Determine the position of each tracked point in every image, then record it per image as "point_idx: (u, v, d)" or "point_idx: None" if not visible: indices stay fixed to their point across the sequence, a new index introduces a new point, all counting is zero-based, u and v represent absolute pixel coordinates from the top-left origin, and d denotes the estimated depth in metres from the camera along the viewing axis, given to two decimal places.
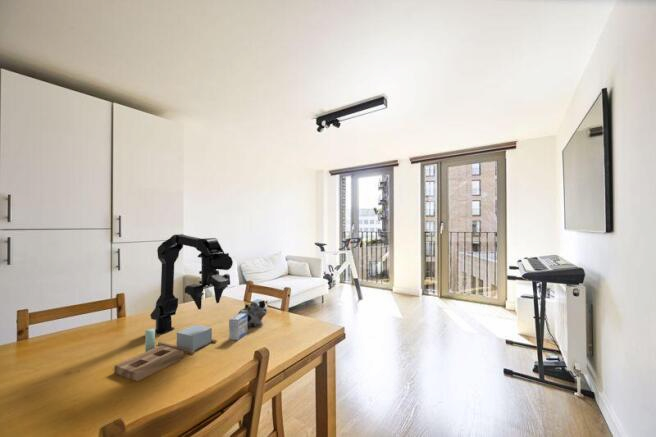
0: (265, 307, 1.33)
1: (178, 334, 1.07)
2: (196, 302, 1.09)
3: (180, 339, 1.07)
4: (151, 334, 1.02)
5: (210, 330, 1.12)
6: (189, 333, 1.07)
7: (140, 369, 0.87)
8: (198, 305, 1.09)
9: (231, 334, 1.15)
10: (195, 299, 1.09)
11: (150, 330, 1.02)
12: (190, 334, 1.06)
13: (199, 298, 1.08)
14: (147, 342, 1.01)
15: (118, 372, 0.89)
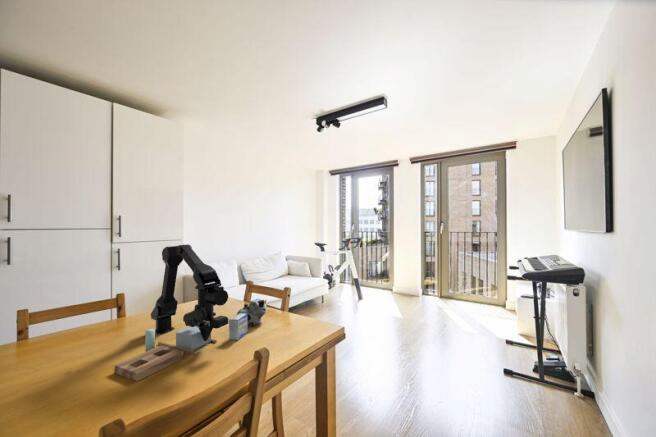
0: (264, 306, 1.34)
1: (177, 334, 1.07)
2: None
3: (179, 339, 1.07)
4: (151, 334, 1.02)
5: None
6: (188, 333, 1.07)
7: (140, 369, 0.87)
8: None
9: (231, 334, 1.15)
10: None
11: (150, 330, 1.02)
12: (189, 334, 1.06)
13: (200, 329, 1.07)
14: (147, 342, 1.01)
15: (118, 372, 0.89)
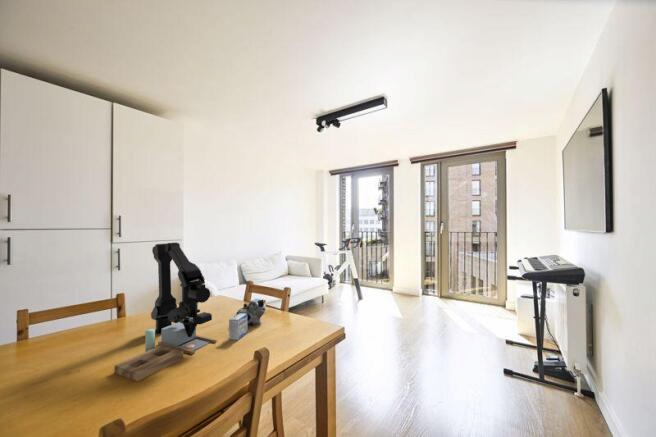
0: (264, 306, 1.34)
1: (163, 330, 1.11)
2: None
3: (164, 335, 1.10)
4: (151, 334, 1.02)
5: None
6: (173, 329, 1.10)
7: (140, 369, 0.87)
8: None
9: (231, 334, 1.15)
10: None
11: (150, 330, 1.02)
12: (174, 330, 1.09)
13: (184, 325, 1.10)
14: (147, 342, 1.01)
15: (118, 372, 0.89)
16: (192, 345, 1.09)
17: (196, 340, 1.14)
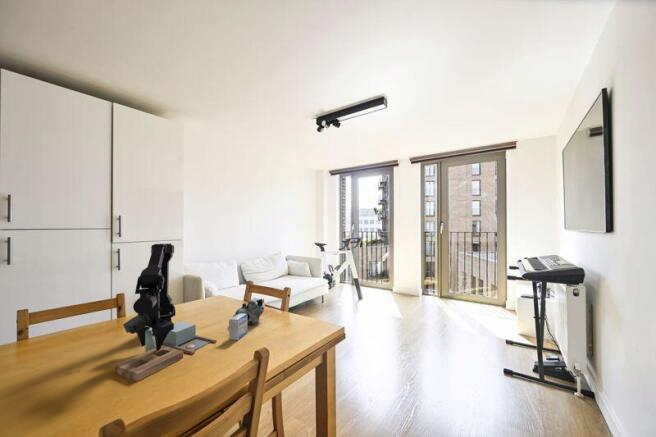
0: (263, 305, 1.35)
1: None
2: None
3: None
4: None
5: (194, 326, 1.15)
6: (173, 329, 1.10)
7: (140, 369, 0.87)
8: None
9: (231, 334, 1.15)
10: None
11: (150, 330, 1.02)
12: (174, 330, 1.10)
13: (137, 334, 1.04)
14: (147, 342, 1.01)
15: (118, 372, 0.89)
16: (192, 345, 1.09)
17: (196, 340, 1.14)
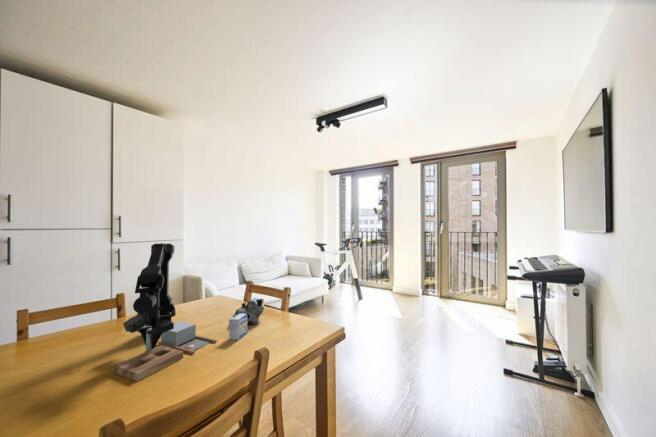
0: (262, 305, 1.36)
1: None
2: None
3: (164, 335, 1.11)
4: None
5: (194, 326, 1.15)
6: (173, 329, 1.10)
7: (140, 369, 0.87)
8: None
9: (231, 334, 1.15)
10: None
11: None
12: (174, 330, 1.10)
13: (141, 334, 1.03)
14: (148, 341, 1.01)
15: (118, 372, 0.89)
16: (192, 345, 1.09)
17: (196, 340, 1.14)
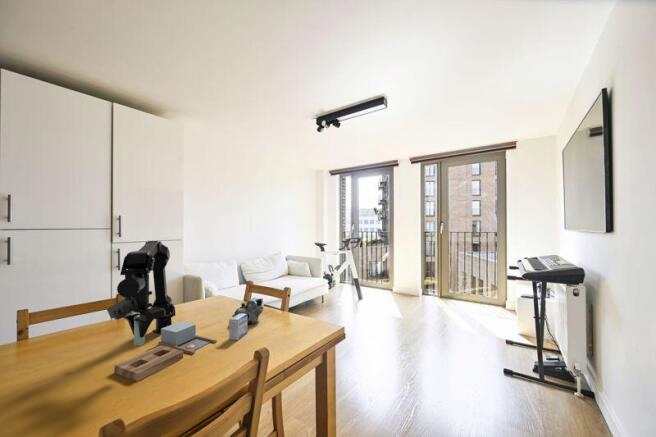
0: (262, 305, 1.36)
1: (162, 330, 1.11)
2: None
3: (164, 335, 1.11)
4: None
5: (194, 326, 1.15)
6: (173, 329, 1.10)
7: (140, 369, 0.87)
8: None
9: (231, 334, 1.15)
10: None
11: None
12: (174, 330, 1.10)
13: (129, 322, 0.91)
14: (136, 329, 0.90)
15: (118, 372, 0.89)
16: (192, 345, 1.09)
17: (196, 340, 1.14)
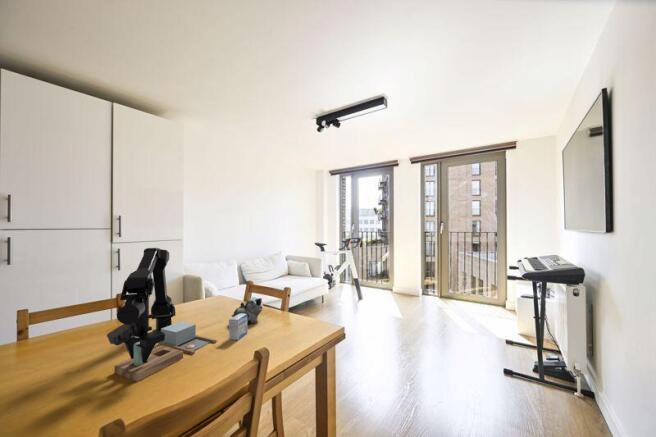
0: (261, 305, 1.37)
1: (162, 330, 1.11)
2: None
3: None
4: (140, 348, 0.91)
5: (194, 326, 1.15)
6: (173, 329, 1.10)
7: (140, 369, 0.87)
8: None
9: (231, 334, 1.15)
10: None
11: (139, 343, 0.91)
12: (174, 330, 1.10)
13: (126, 345, 0.92)
14: (135, 357, 0.90)
15: (118, 372, 0.89)
16: (192, 345, 1.09)
17: (196, 340, 1.14)
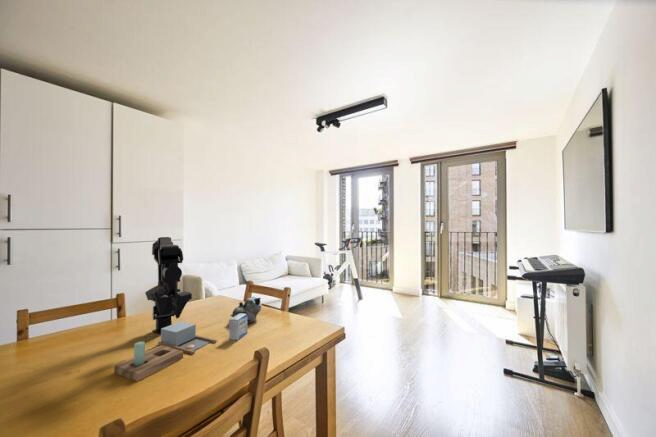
0: (260, 304, 1.38)
1: (162, 330, 1.11)
2: None
3: (164, 335, 1.11)
4: (141, 348, 0.91)
5: (194, 326, 1.15)
6: (173, 329, 1.10)
7: (140, 369, 0.87)
8: None
9: (231, 334, 1.15)
10: None
11: (140, 343, 0.91)
12: (174, 330, 1.10)
13: (156, 303, 1.10)
14: (136, 357, 0.90)
15: (118, 372, 0.89)
16: (192, 345, 1.09)
17: (196, 340, 1.14)
